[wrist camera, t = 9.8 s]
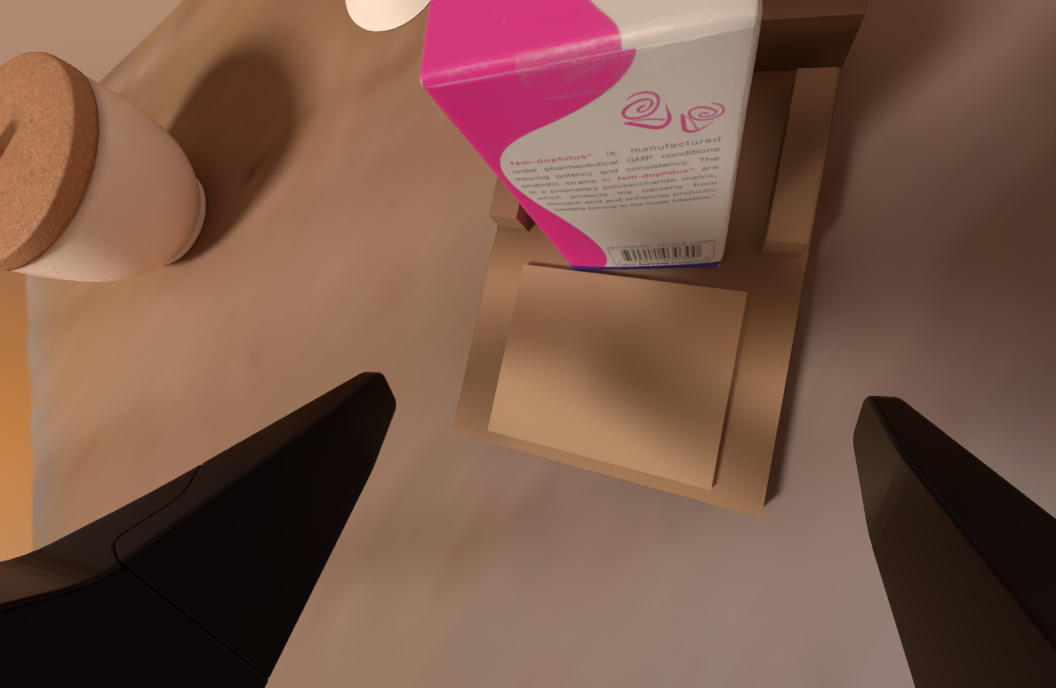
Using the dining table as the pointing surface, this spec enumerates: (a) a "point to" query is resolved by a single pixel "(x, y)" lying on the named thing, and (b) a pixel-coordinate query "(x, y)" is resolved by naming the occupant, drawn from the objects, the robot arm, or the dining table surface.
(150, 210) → the lidded jar
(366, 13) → the champagne flute
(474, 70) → the supplement box
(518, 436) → the click board
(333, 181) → the dining table surface
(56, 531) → the dining table surface
